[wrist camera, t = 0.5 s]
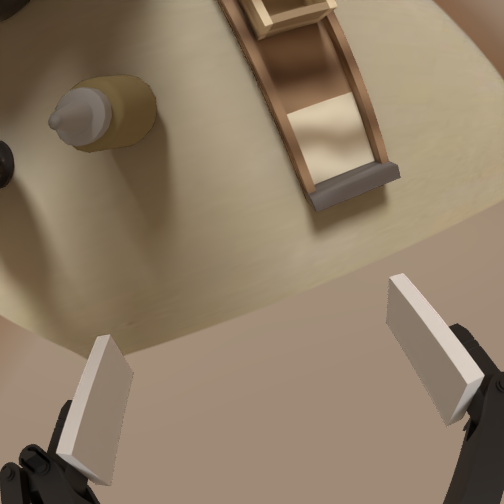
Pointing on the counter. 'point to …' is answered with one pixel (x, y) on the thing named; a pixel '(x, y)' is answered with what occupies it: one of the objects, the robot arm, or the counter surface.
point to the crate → (283, 14)
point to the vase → (5, 164)
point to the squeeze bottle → (105, 113)
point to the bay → (318, 107)
